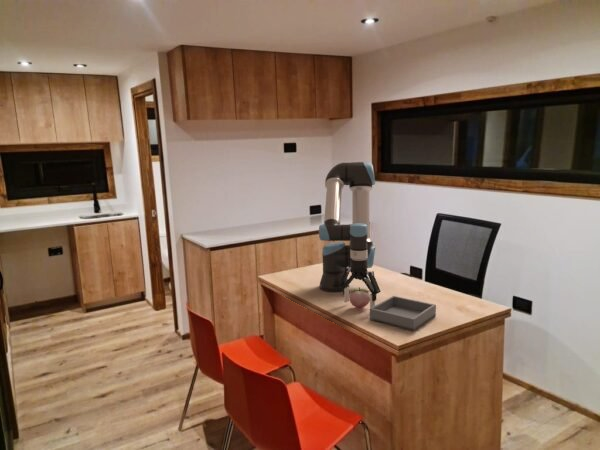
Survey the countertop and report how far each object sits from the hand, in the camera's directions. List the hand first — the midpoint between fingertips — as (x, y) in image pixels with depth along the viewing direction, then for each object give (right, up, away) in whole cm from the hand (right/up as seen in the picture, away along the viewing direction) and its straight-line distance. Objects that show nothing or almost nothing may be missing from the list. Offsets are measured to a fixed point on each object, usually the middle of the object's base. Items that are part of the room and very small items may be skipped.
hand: (359, 304), depth 203 cm
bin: (+17, -3, -12) cm, 21 cm away
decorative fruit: (0, -2, 0) cm, 2 cm away
